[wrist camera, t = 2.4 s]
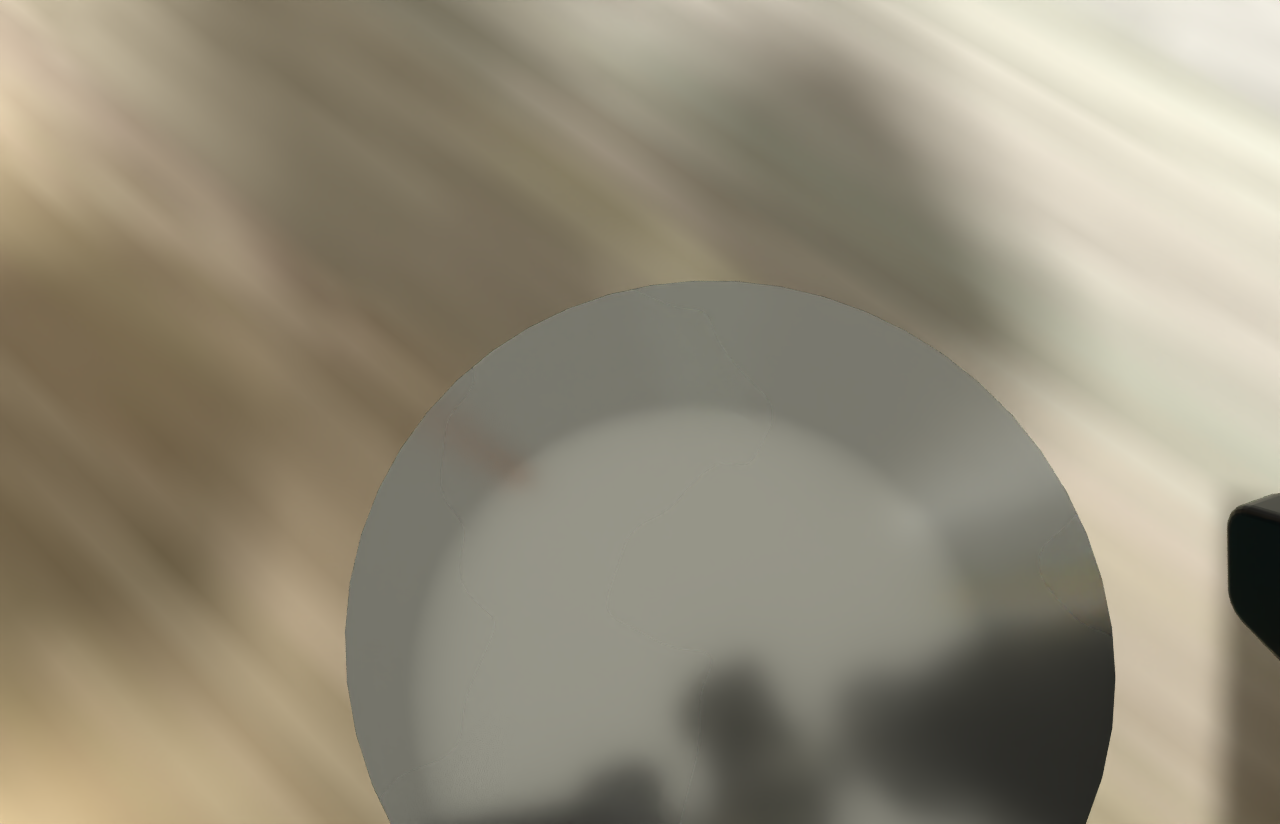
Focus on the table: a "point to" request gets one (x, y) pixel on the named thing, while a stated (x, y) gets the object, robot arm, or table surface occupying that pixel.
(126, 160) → the table surface
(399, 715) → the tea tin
